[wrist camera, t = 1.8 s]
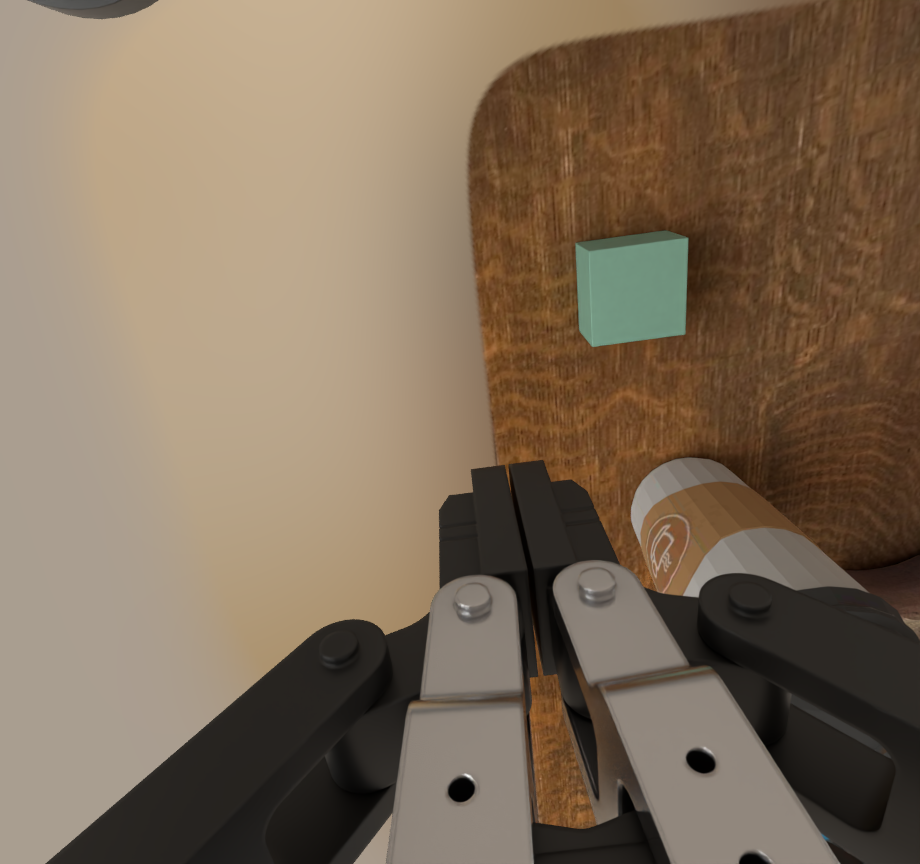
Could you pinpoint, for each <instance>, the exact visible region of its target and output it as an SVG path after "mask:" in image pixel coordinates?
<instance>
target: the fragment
mask: <svg viewBox="0 0 920 864" xmlns="http://www.w3.org/2000/svg"><path fill="white" fill-rule="evenodd" d="M844 571H845V572H846V573H847V574H848V575H850V576H851V577H852V578H853V579H854V580H855V581H856V582H858V583H859V584H860V585H861V586H862V587H863V588H864V589H865V590H867V591H868V592H869V593H871V594H873V595H876V596H879V597H881V598H882V599H883V600H885V601H886V602H887V603H889V604H890V605H891V606H892V607H894V608H895V609H896V610H897V611H898V612H899V614H900V616H901V617H902V619H903V621H904V623H905V624H906V625H907V626H909V627H910V628H911V629H912V630H913V631H914V632H915V633H916V635H917V636H918V638H919V640H920V555H918V556H915V557H913V558H911V559H909V560H906V561H904V562H902V563H899V564H897V565H892V566H888V567H884V568H878V569H871V570H844Z"/></svg>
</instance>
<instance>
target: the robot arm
mask: <svg viewBox="0 0 920 864" xmlns="http://www.w3.org/2000/svg"><path fill="white" fill-rule="evenodd" d="M471 475H472V484H473V493H464V494H458V495H449V496H448V498H447V499H446V501H445V502H444V504H443V505H442V507H441V509H440V510H439V527H440V529H439V539H440V542H439V549H440V550H439V551H440V553H439V555H440V557H439V558H440V560H439V561H440V590H439V591H438V592H437V593H436V594H435V596H434V598H433V600H432V603H431V608H430V612H429V613H428V614H427V615H426V616H424V617H423V618H422V619H420V620H419V621H417V622H416V623H414V624H412V625H410V626H408V627H406V628H404V629H401V630H398V631H395V632H393V633H390V634H388V635H385V634H384V633H383V631H382V630H381V629H380V628H379V627H378V626H377V625H375V624H373V623H371V622H368V621H364V620H355V619H352V620H344V621H339V622H335V623H333V624H330V625H328V626H325V627H323V628H321V629H320V630H318V631H316V632H315V633H314V634H312V635H311V636H310V637H309V638H308V639H306V640H305V641H304V642H303V643H302V644H301V645H299V646H298V647H297V648H296V649H295V650H294V651H293V652H291V653H290V654H289V655H288V656H287V657H286V658H285V659H283V660H282V661H281V662H280V663H279V664H277V665H276V666H275V667H274V668H273V669H271V670H270V671H269V672H268V673H267V674H266V675H265V676H263V677H262V678H261V679H260V680H259V681H258V682H256V683H255V684H254V685H253V686H252V687H251V688H249V689H248V690H247V691H246V692H245V693H244V694H242V695H241V696H240V697H239V698H238V699H237V700H235V701H234V702H233V703H232V704H231V705H230V706H228V707H227V708H226V709H225V710H224V711H223V712H222V713H220V714H219V715H218V716H217V717H216V718H214V719H213V720H212V721H211V722H210V723H209V724H208V725H206V726H205V727H204V728H203V729H202V730H201V731H199V732H198V733H197V734H196V735H195V736H194V737H192V738H191V739H190V740H189V741H188V742H187V743H185V744H184V745H183V746H182V747H181V748H180V749H178V750H177V751H176V752H175V753H174V754H173V755H171V756H170V757H169V758H168V759H167V760H166V761H164V762H163V763H162V764H161V765H160V766H159V767H157V768H156V769H155V770H154V771H153V772H152V773H151V774H149V775H148V776H147V777H146V778H145V779H143V781H141V782H140V783H139V784H138V785H136V786H135V787H134V788H133V789H132V790H131V791H130V792H128V793H127V794H126V795H125V796H124V797H123V798H121V799H120V800H119V801H118V802H117V803H116V804H114V805H113V806H112V807H111V808H110V809H109V810H107V811H106V812H105V813H104V814H103V815H102V816H100V817H99V818H98V819H97V820H96V821H95V822H93V823H92V824H91V825H90V826H89V827H88V828H87V829H85V830H84V831H83V832H82V833H81V834H80V835H79V836H77V837H76V838H75V839H74V840H72V841H71V842H70V843H69V844H68V845H67V846H66V847H64V848H63V849H62V850H61V851H60V852H59V853H57V854H56V855H55V856H54V857H53V858H52V859H50V860H49V861H48V862H47V863H46V864H353V863H354V862H355V861H356V859H357V858H358V857H359V856H360V854H361V853H362V852H363V850H364V849H365V848H366V846H367V845H368V844H369V843H370V841H371V840H372V839H373V837H374V836H375V835H376V833H377V832H378V831H379V830H380V828H381V827H382V826H383V824H384V823H385V822H386V820H387V819H388V818H389V817H390V815H391V814H392V813H393V816H392V822H391V829H390V836H389V844H388V851H387V858H386V864H920V643H919V642H917V641H914V640H912V639H910V638H907V637H905V636H903V635H900V634H898V633H895V632H893V631H891V630H888V629H886V628H884V627H881V626H879V625H877V624H874V623H872V622H870V621H867V620H865V619H862V618H860V617H858V616H855V615H853V614H851V613H848V612H846V611H844V610H841V609H839V608H837V607H834V606H832V605H829V604H827V603H825V602H822V601H820V600H818V599H815V598H813V597H811V596H808V595H806V594H804V593H801V592H799V591H796V590H794V589H792V588H789V587H787V586H785V585H782V584H780V583H778V582H775V581H773V580H770V579H768V578H765V577H762V576H758V575H753V574H747V573H729V574H723V575H719V576H716V577H714V578H712V579H710V580H708V581H707V582H706V583H705V584H704V585H703V586H702V587H701V589H700V592H699V597H690V596H680V595H671V594H664V593H660V592H656V591H653V590H650V589H647V588H645V587H643V586H642V584H641V582H640V580H639V579H638V578H637V576H636V575H635V574H634V573H633V572H632V571H630V570H629V569H627V568H626V567H623V566H621V565H620V564H619V561H618V559H617V557H616V555H615V552H614V550H613V548H612V546H611V543H610V541H609V539H608V537H607V535H606V532H605V530H604V528H603V526H602V523H601V521H599V517H598V514H597V512H596V510H595V509H594V505H593V503H592V501H591V499H590V496H589V494H588V492H587V491H586V490H585V489H584V488H582V487H581V486H579V485H578V484H577V483H575V482H574V481H573V480H564V481H556V482H551V481H550V478H549V475H548V473H547V470H546V467H545V464H544V461H543V460H538V461H531V462H523V463H515V464H509V477H510V486H511V492H510V487H509V483H508V478H507V474H506V469H505V465H501V466H493V467H486V468H478V469H471ZM511 495H512V496H511ZM533 626H534V630H535V635H536V640H537V645H538V650H539V655H540V660H541V665H542V669H543V674H544V676H545V675H553V674H557V675H558V679H559V684H560V688H561V698H562V711H563V716H564V719H565V723H566V726H567V729H568V732H569V735H570V738H571V742H572V745H573V748H574V751H575V754H576V758H577V761H578V764H579V767H580V770H581V774H582V777H583V780H584V783H585V786H586V789H587V793H588V796H589V799H590V802H591V805H592V809H593V812H594V815H595V819H596V823H597V825H596V826H594V827H591V828H587V829H574V828H568V827H561V826H554V825H548V824H541V823H539V821H538V809H537V797H536V784H535V772H534V759H533V747H532V734H531V722H530V713H529V711H530V708H531V704H532V695H531V686H530V677H538V670H537V660H536V650H535V640H534V630H533ZM792 694H793V695H795V696H796V697H798V698H800V699H802V700H804V701H806V702H807V703H809V704H811V705H813V706H815V707H816V708H818V709H820V710H822V711H824V712H826V713H827V714H829V715H831V716H833V717H835V718H837V719H838V720H840V721H842V722H844V723H846V724H848V725H849V726H851V727H853V728H855V729H857V730H858V731H860V732H862V733H864V734H866V735H867V736H869V737H871V738H872V739H874V740H875V741H876V742H878V743H879V744H880V745H881V746H882V747H883V748H884V749H885V750H886V751H887V752H888V754H889V755H890V756H891V758H892V759H890V758H888V757H886V756H884V755H882V754H881V753H879V752H877V751H875V750H873V749H872V748H870V747H868V746H866V745H864V744H863V743H861V742H859V741H857V740H856V739H854V738H852V737H850V736H848V735H847V734H845V733H843V732H841V731H839V730H838V729H836V728H834V727H832V726H830V725H829V724H827V723H825V722H823V721H822V720H820V719H818V718H816V717H814V716H813V715H811V714H809V713H807V712H805V711H804V710H802V709H800V708H798V707H797V706H795V705H793V704H791V703H790V702H791V696H792ZM822 834H823V835H824V836H825V837H827V838H828V839H830V840H831V841H833V842H834V843H836V844H837V845H839V846H840V847H841V848H843V849H844V850H846V851H847V852H849V853H850V854H849V853H847V852H846V851H844V850H842V849H841V848H839V847H837V846H836V845H834V844H832V843H830V842H828V841H826V840H825V839H824V838H823V836H822ZM851 854H852V855H851ZM854 856H855V857H854Z"/></svg>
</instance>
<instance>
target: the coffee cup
mask: <svg viewBox="0 0 920 864" xmlns="http://www.w3.org/2000/svg"><path fill="white" fill-rule="evenodd" d="M631 521H632V524H633V527H634V530H635V533H636V535H637V538H638V540H639V543H640V545H641V550H642V553H643V555H644V558H645V561H646V564H647V567H648V569H649V572H650V574H651V577H652V579H653V582H654V584H655V587H656V589H657V592H660V593H664V594H671V595H680V596H690V597H699V592H700V589H701V587H702V586H703V585H704V584H705V583H706V582H707V581H708V580H710V579H712V578H714V577H716V576H719V575H723V574H729V573H747V574H753V575H758V576H762V577H765V578H768V579H770V580H773V581H775V582H778V583H780V584H782V585H785V586H787V587H789V588H792V589H794V590H796V591H799V592H801V593H804V594H806V595H808V596H811V597H813V598H815V599H818V600H820V601H822V602H825V603H827V604H829V605H832V606H834V607H837V608H839V609H841V610H844V611H846V612H848V613H851V614H853V615H855V616H858V617H860V618H862V619H865V620H867V621H870V622H872V623H874V624H877V625H879V626H881V627H884V628H886V629H888V630H891V631H893V632H895V633H898V634H900V635H903V636H905V637H907V638H910V639H912V640H914V641H917V642H919V643H920V640H919V638H918V636H917V635H916V633H915V632H914V631H913V630H912V629H911V628H910V627H909V626H907V625H906V624H905V623H904V621H903V619H902V617H901V616H900V614H899V612H898V611H897V610H896V609H895V608H894V607H892V606H891V605H890V604H889V603H887V602H886V601H885V600H883V599H882V598H881V597H879V596H876V595H873V594H871V593H869V592H868V591H867V590H865V589H864V588H863V587H862V586H861V585H860V584H859V583H858V582H856V581H855V580H854V579H853V578H852V577H851V576H850V575H848V574H847V573H846V572H845V571H844V570H843V569H842V568H840V567H839V566H838V565H837V564H836V563H835V562H834V561H833V560H831V559H830V558H829V557H828V556H827V555H826V554H825V553H823V552H822V550H821V549H820V547H819V546H818V545H817V544H816V543H815V542H814V541H813V540H811V539H810V538H809V537H808V536H807V535H806V534H804V533H803V532H802V531H801V530H800V529H799V528H798V527H796V526H795V525H794V524H793V523H792V522H791V521H790V520H788V519H787V518H786V517H785V516H784V515H783V514H781V513H780V512H779V511H778V510H777V509H776V508H775V507H773V506H772V505H771V504H770V503H769V502H768V501H767V500H765V499H764V498H763V497H762V496H760V495H759V494H758V493H757V492H755V491H754V490H753V489H751V488H750V487H748V486H747V485H746V484H745V483H744V482H743V481H742V480H740V479H739V478H738V477H737V476H736V475H735V474H734V473H732V472H731V471H730V470H729V469H727V468H726V467H725V466H724V465H722V464H720V463H718V462H715V461H712V460H710V459H702V458H691V457H688V458H681V459H675V460H672V461H670V462H667V463H664V464H662V465H661V466H659V467H658V468H656V469H654V470H653V471H651V472H650V473H649V474H648V475H647V476H646V477H645V478H644V479H643V480H642V482H641V484H640V485H639V487H638V489H637V490H636V493H635V496H634V500H633V503H632V507H631ZM790 703H791V704H793V705H795V706H797V707H798V708H800V709H802V710H804V711H805V712H807V713H809V714H811V715H813V716H814V717H816V718H818V719H820V720H822V721H823V722H825V723H827V724H829V725H830V726H832V727H834V728H836V729H838V730H839V731H841V732H843V733H845V734H847V735H848V736H850V737H852V738H854V739H856V740H857V741H859V742H861V743H863V744H864V745H866V746H868V747H870V748H872V749H873V750H875V751H877V752H879V753H881V754H882V755H884V756H886V757H888V758H890V759H892V758H891V756H890V755H889V754H888V752H887V751H886V750H885V749H884V748H883V747H882V746H881V745H880V744H879V743H878V742H876V741H875V740H874V739H872V738H871V737H869V736H867V735H866V734H864V733H862V732H860V731H858V730H857V729H855V728H853V727H851V726H849V725H848V724H846V723H844V722H842V721H840V720H838V719H837V718H835V717H833V716H831V715H829V714H827V713H826V712H824V711H822V710H820V709H818V708H816V707H815V706H813V705H811V704H809V703H807V702H806V701H804V700H802V699H800V698H798V697H796V696H795V695H793V694H792V696H791V702H790Z"/></svg>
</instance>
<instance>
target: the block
mask: <svg viewBox="0 0 920 864" xmlns="http://www.w3.org/2000/svg"><path fill="white" fill-rule="evenodd" d="M576 266H577V288H578V310H579V331H580V332H581V333H582V335H583V336H584V337H585V338H586V340H587V341H588V342H589V343H590V345H591V346H592V347H595V346H603V345H610V344H618V343H625V342H632V341H640V340H647V339H655V338H662V337H670V336H677V335H684V334H685V330H686V299H687V267H688V237H685V236H682V235H679V234H676V233H673V232H669V231H666V230H665V231H658V232H650V233H643V234H636V235H629V236H621V237H614V238H607V239H600V240H592V241H585V242H578V243H576Z"/></svg>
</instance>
